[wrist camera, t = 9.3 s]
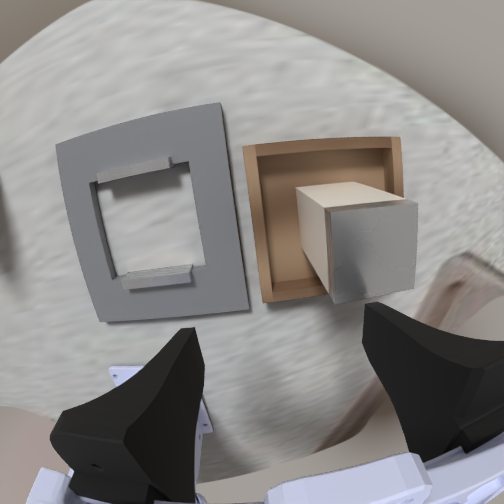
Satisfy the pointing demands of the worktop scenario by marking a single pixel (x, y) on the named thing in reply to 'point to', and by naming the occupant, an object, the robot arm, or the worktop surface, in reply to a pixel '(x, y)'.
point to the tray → (285, 201)
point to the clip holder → (207, 206)
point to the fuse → (358, 239)
